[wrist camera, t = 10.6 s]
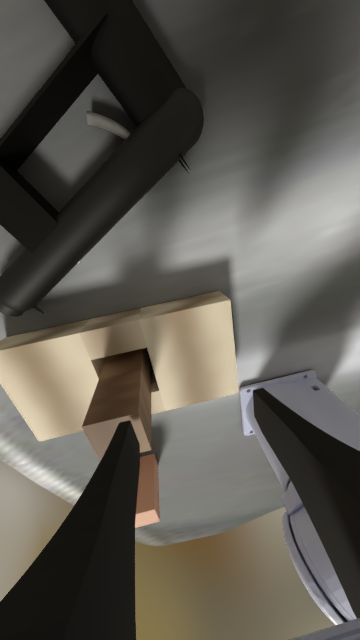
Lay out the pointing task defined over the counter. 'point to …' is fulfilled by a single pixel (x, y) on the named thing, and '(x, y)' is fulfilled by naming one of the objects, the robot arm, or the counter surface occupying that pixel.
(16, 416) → the counter surface
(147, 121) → the door handle
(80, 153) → the counter surface
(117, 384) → the walnut peg
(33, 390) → the socket block
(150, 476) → the salmon brown flat block
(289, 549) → the robot arm
